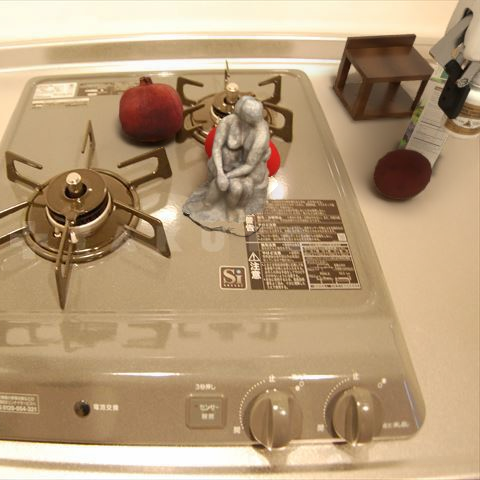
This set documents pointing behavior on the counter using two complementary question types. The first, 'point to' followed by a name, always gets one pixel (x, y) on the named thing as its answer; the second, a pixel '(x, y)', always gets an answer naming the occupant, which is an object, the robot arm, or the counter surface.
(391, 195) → the potato
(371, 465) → the counter surface
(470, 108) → the pill bottle
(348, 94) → the rack
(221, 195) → the sculpture
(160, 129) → the fruit
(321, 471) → the counter surface
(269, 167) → the heart
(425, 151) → the syrup box
